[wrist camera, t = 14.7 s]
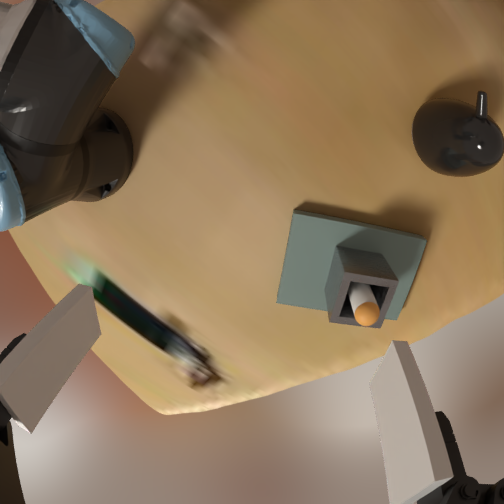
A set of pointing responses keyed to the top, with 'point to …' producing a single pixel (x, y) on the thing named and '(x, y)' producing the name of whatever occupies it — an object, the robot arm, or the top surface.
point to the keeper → (321, 254)
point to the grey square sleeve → (363, 271)
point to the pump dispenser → (457, 137)
